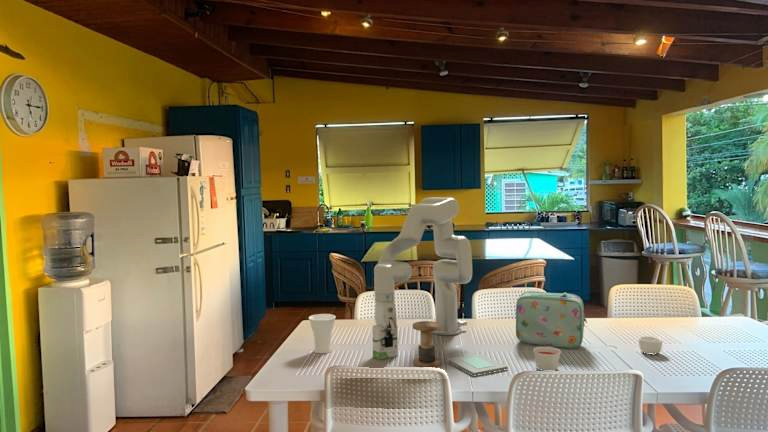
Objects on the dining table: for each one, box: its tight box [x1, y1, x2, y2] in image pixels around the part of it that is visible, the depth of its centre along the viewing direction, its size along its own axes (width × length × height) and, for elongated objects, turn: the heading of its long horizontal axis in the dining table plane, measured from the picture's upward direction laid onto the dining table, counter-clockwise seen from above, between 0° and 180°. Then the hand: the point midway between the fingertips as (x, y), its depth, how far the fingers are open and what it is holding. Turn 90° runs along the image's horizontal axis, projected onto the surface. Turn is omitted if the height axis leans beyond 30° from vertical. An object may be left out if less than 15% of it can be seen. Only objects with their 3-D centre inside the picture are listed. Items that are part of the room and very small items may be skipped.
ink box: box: [372, 324, 399, 361], centre depth 200 cm, size 9×5×12 cm, turn 123°
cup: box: [308, 313, 336, 354], centre depth 207 cm, size 10×10×14 cm
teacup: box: [638, 335, 663, 354], centre depth 200 cm, size 10×8×5 cm
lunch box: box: [515, 290, 588, 349], centre depth 211 cm, size 27×10×21 cm, turn 65°
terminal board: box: [447, 353, 508, 377], centre depth 187 cm, size 14×16×1 cm
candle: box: [533, 346, 562, 371], centre depth 184 cm, size 9×9×6 cm
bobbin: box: [412, 320, 442, 368], centre depth 191 cm, size 10×10×14 cm
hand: (385, 344), depth 200 cm, fingers closed on ink box, 5 cm apart
